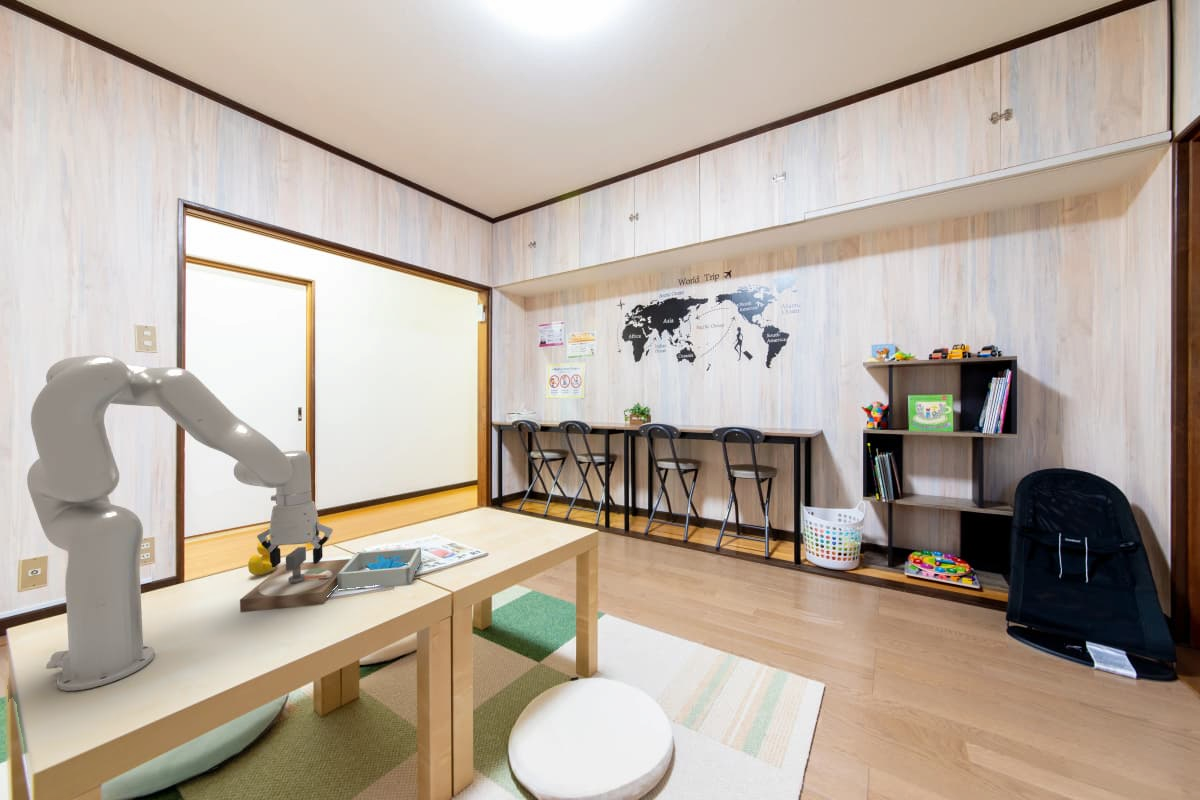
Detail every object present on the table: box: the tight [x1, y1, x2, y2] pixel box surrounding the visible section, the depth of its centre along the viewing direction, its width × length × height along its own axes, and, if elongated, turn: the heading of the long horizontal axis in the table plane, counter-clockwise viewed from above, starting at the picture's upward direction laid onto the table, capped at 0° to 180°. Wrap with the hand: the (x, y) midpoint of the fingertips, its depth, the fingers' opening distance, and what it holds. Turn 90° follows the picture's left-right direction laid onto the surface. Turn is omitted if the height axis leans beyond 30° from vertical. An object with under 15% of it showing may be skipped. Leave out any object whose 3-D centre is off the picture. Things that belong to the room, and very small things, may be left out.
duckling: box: [247, 536, 278, 576], centre depth 132 cm, size 11×5×10 cm, turn 178°
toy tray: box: [337, 546, 422, 590], centre depth 129 cm, size 18×16×4 cm
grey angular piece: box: [285, 546, 327, 583], centre depth 118 cm, size 9×7×8 cm
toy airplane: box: [365, 555, 406, 570], centre depth 129 cm, size 12×10×4 cm
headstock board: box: [239, 558, 351, 613], centre depth 121 cm, size 18×22×3 cm
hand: (296, 563), depth 118 cm, fingers open, 9 cm apart
